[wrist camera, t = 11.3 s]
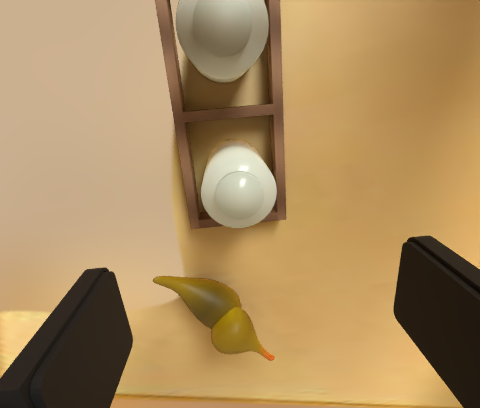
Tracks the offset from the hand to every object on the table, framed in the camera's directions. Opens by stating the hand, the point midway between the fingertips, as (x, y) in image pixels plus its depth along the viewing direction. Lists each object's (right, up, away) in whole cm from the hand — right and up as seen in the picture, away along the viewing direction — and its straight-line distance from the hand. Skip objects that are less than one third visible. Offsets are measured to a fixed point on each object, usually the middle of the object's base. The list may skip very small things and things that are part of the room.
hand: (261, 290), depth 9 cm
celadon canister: (-1, +6, +18) cm, 19 cm away
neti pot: (-3, -7, +23) cm, 24 cm away
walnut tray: (-2, +11, +16) cm, 19 cm away
